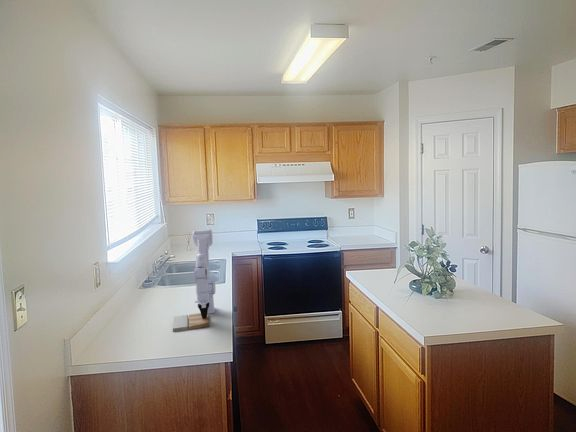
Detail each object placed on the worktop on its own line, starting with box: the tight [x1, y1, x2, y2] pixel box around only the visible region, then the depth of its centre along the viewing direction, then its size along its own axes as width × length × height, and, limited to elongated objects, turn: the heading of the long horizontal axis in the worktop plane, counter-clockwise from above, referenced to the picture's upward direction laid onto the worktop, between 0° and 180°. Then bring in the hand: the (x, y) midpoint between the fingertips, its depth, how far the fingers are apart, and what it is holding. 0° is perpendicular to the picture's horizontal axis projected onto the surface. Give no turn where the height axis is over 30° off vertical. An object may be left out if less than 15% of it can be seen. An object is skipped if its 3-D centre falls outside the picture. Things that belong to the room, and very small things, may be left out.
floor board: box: [172, 314, 189, 332], centre depth 211 cm, size 18×7×2 cm, turn 13°
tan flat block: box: [188, 312, 210, 330], centre depth 213 cm, size 18×10×2 cm, turn 13°
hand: (204, 318), depth 213 cm, fingers closed, pressing on tan flat block
